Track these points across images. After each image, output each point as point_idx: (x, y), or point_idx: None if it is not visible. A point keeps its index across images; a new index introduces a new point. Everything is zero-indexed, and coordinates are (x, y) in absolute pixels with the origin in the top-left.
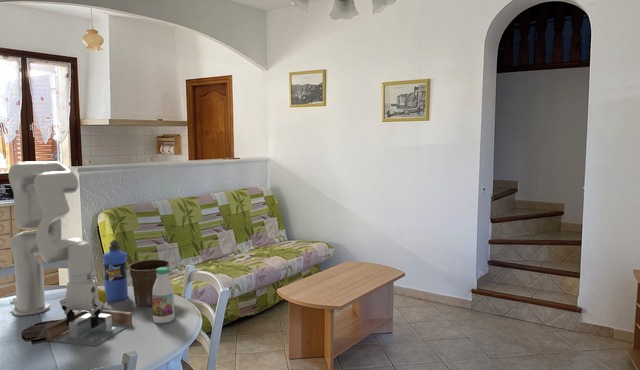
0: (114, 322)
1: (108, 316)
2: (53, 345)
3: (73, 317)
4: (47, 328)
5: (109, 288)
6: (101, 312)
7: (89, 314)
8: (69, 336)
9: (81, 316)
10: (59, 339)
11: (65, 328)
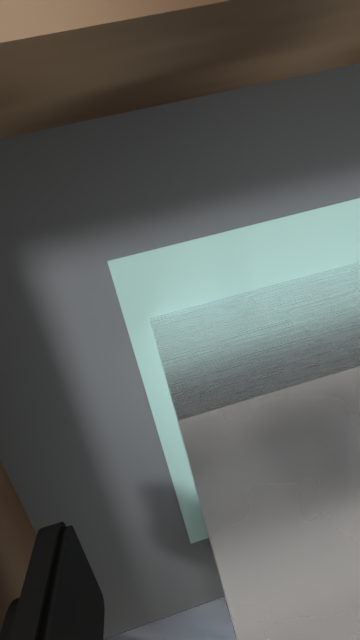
0: (317, 69)
1: None
2: (190, 635)
3: (62, 628)
4: None
5: None
6: (114, 42)
7: (290, 489)
8: (217, 570)
9: (235, 608)
10: (153, 599)
11: (12, 536)
